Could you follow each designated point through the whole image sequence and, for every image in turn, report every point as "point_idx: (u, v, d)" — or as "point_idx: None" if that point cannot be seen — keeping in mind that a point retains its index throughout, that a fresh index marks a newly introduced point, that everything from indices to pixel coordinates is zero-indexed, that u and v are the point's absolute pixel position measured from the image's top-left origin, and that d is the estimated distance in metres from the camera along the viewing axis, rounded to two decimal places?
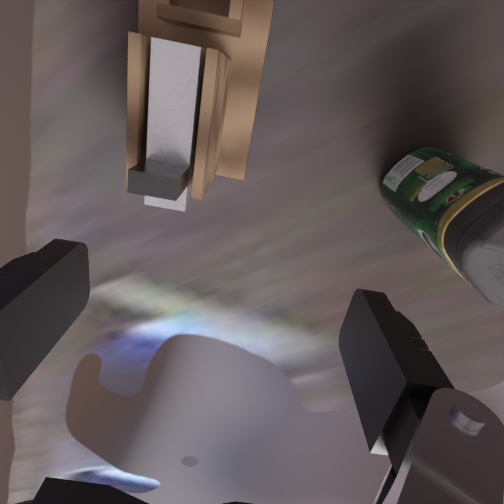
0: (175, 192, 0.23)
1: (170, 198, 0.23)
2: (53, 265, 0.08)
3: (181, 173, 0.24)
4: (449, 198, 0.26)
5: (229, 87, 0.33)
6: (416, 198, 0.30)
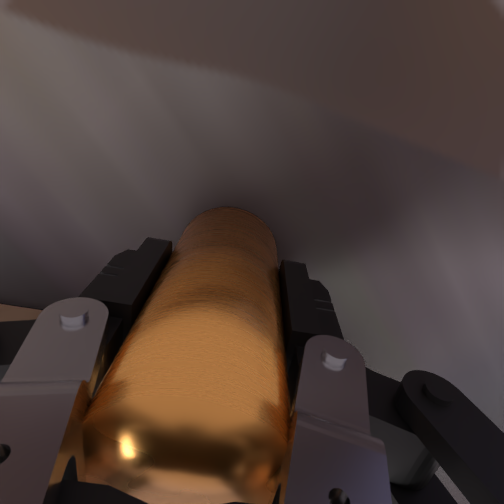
0: None
1: None
2: (157, 260, 0.09)
3: None
4: None
5: None
6: None
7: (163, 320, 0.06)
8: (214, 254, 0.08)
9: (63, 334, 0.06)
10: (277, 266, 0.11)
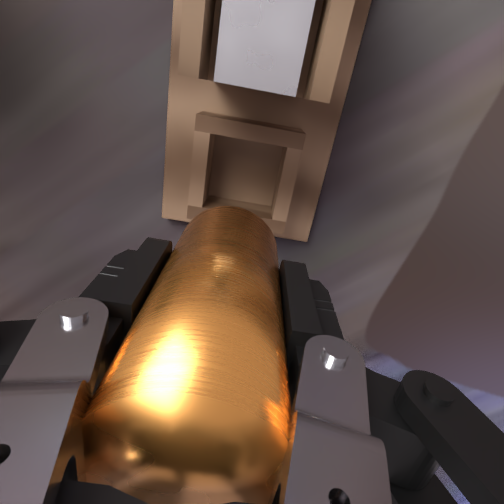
0: None
1: None
2: (157, 261, 0.09)
3: None
4: None
5: None
6: None
7: (163, 318, 0.06)
8: (214, 253, 0.08)
9: (63, 334, 0.06)
10: (277, 265, 0.11)
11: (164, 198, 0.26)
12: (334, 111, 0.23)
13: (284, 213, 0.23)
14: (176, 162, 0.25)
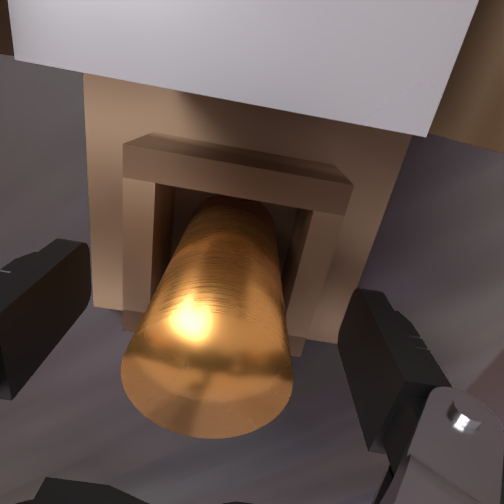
0: None
1: None
2: (55, 264, 0.08)
3: None
4: None
5: None
6: None
7: (188, 270, 0.08)
8: (224, 227, 0.10)
9: None
10: None
11: (95, 277, 0.15)
12: (398, 133, 0.12)
13: (304, 324, 0.12)
14: (110, 220, 0.14)
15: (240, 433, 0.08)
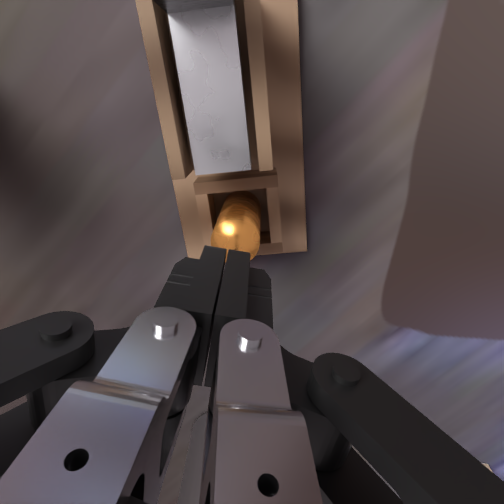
0: None
1: None
2: (221, 269, 0.09)
3: (155, 0, 0.15)
4: None
5: None
6: None
7: (223, 215, 0.25)
8: (233, 202, 0.28)
9: (162, 344, 0.06)
10: (258, 205, 0.30)
11: (187, 246, 0.34)
12: (297, 148, 0.29)
13: (279, 236, 0.30)
14: (189, 217, 0.32)
15: None
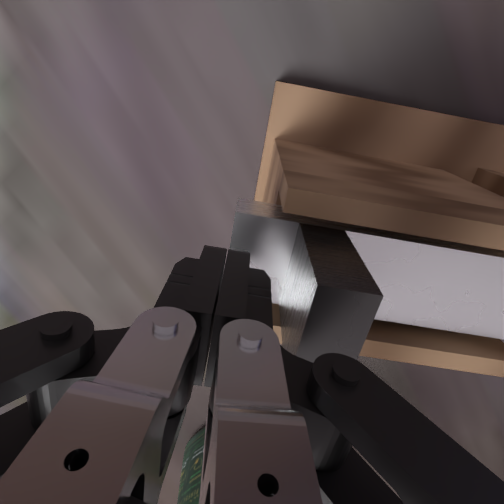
0: None
1: None
2: (221, 269, 0.09)
3: None
4: None
5: None
6: None
7: None
8: None
9: (162, 344, 0.06)
10: None
11: None
12: (469, 128, 0.19)
13: None
14: None
15: None
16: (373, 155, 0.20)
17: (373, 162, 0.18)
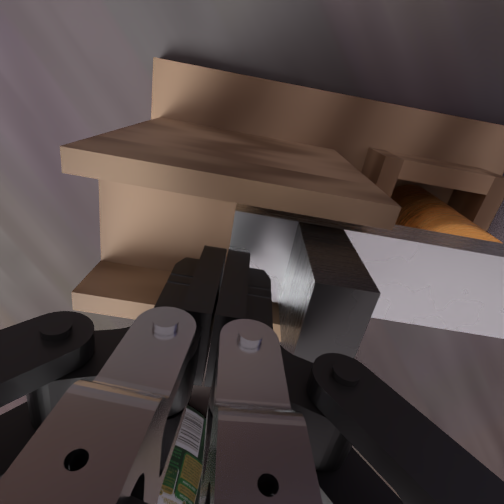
0: None
1: None
2: (221, 269, 0.09)
3: None
4: None
5: None
6: None
7: None
8: None
9: (162, 344, 0.06)
10: (416, 193, 0.19)
11: None
12: (355, 106, 0.19)
13: (482, 179, 0.18)
14: None
15: None
16: (261, 134, 0.20)
17: (248, 139, 0.18)
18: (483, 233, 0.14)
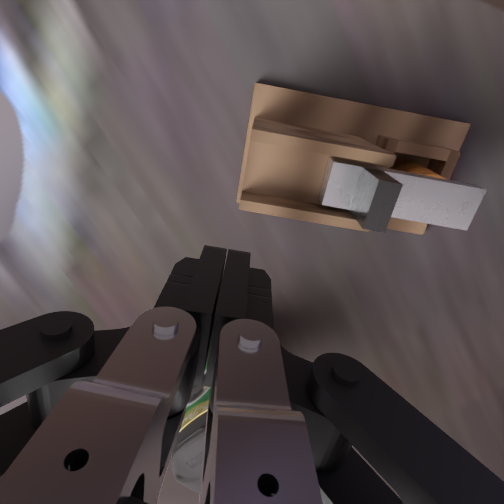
0: (371, 229, 0.23)
1: (365, 223, 0.23)
2: (221, 269, 0.09)
3: None
4: None
5: None
6: None
7: None
8: None
9: (162, 344, 0.06)
10: (407, 161, 0.33)
11: (409, 231, 0.38)
12: (370, 110, 0.33)
13: (443, 151, 0.31)
14: None
15: None
16: (314, 127, 0.33)
17: (310, 129, 0.31)
18: (441, 177, 0.28)
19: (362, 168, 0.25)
